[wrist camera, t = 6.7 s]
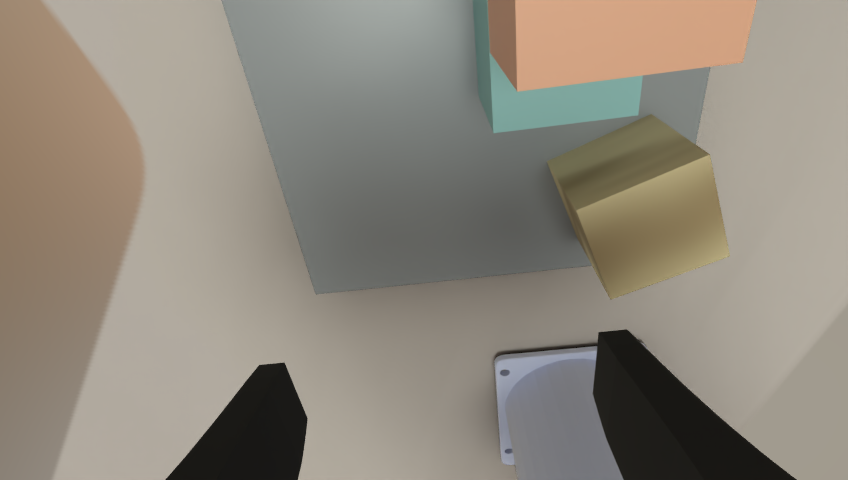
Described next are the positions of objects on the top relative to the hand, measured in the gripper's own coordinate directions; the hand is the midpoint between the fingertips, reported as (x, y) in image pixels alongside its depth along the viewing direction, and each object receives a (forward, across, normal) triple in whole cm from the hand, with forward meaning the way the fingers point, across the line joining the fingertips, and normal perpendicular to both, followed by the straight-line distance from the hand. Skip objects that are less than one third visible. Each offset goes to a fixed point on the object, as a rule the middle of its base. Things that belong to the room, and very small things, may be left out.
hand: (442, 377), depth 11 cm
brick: (+9, -7, 0) cm, 12 cm away
